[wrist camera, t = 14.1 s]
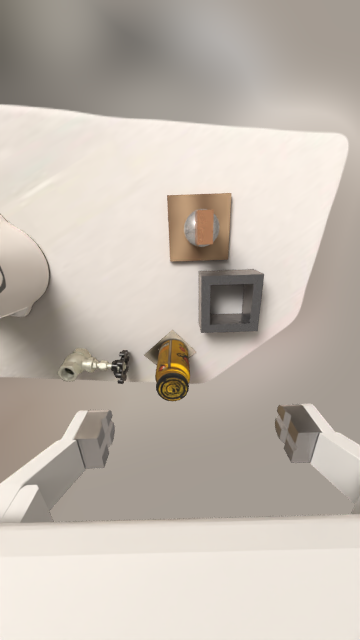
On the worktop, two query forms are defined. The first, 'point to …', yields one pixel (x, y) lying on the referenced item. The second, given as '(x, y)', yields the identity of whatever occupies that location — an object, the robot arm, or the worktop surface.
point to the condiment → (171, 366)
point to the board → (178, 215)
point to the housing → (249, 307)
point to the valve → (92, 365)
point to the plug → (201, 227)
